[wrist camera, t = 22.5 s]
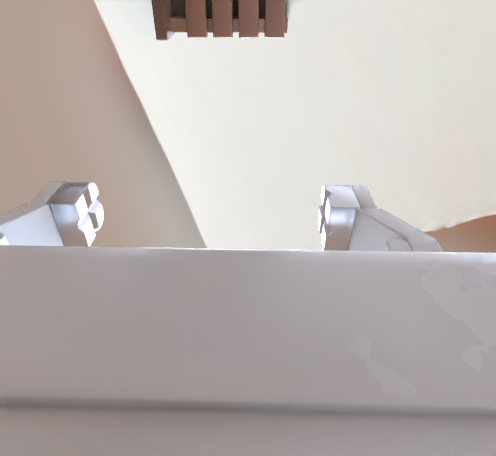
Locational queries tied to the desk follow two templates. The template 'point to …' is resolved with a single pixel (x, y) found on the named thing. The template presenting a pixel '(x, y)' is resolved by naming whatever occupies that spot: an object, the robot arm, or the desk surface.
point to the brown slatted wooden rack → (221, 19)
